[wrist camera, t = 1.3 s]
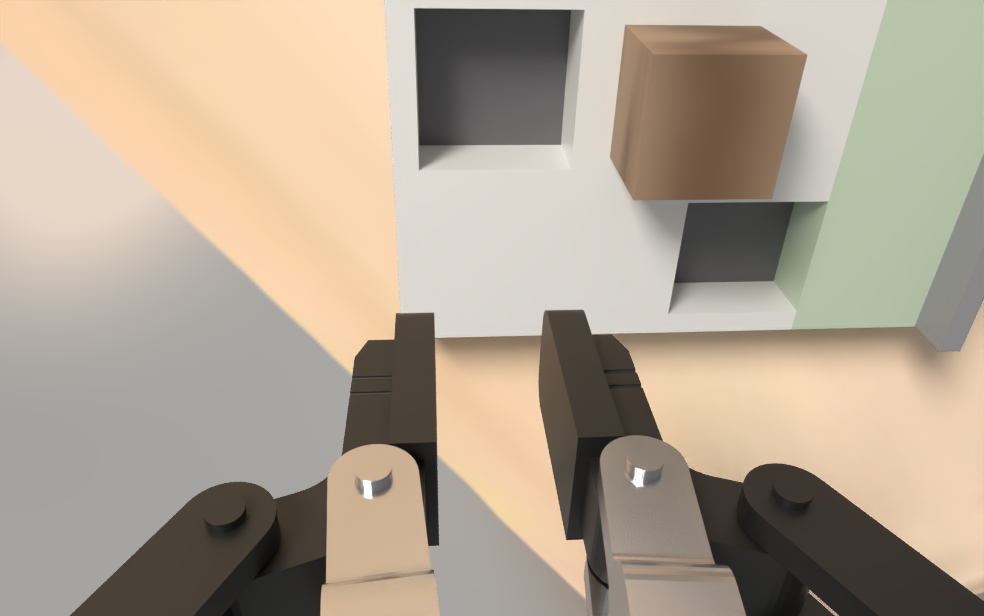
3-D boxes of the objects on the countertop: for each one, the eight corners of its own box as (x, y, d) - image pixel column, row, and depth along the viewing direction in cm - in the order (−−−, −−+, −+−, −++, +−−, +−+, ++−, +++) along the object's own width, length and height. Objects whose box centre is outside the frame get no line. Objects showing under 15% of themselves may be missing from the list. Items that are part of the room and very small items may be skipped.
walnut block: (760, 25, 27) (807, 54, 24) (733, 156, 30) (771, 199, 27) (625, 24, 27) (653, 54, 24) (609, 157, 30) (633, 200, 26)
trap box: (1032, -57, 29) (1133, -36, 25) (901, 292, 38) (959, 351, 34) (385, -68, 27) (378, -47, 23) (403, 302, 36) (400, 365, 32)
